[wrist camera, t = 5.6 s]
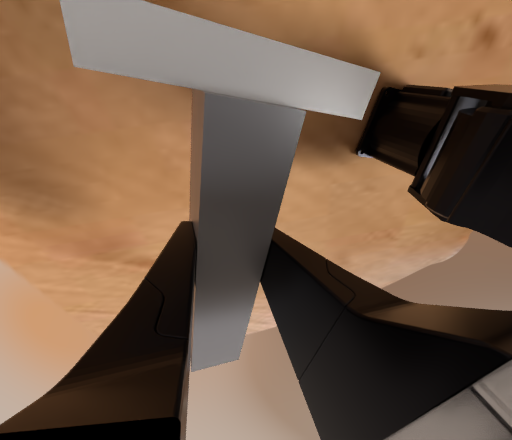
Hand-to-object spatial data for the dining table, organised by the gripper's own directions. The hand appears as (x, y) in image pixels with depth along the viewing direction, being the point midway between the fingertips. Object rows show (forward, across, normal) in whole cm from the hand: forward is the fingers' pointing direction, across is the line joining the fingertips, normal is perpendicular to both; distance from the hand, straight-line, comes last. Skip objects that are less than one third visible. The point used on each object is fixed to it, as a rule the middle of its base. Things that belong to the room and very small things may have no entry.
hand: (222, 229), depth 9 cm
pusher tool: (+1, 0, +1) cm, 1 cm away
